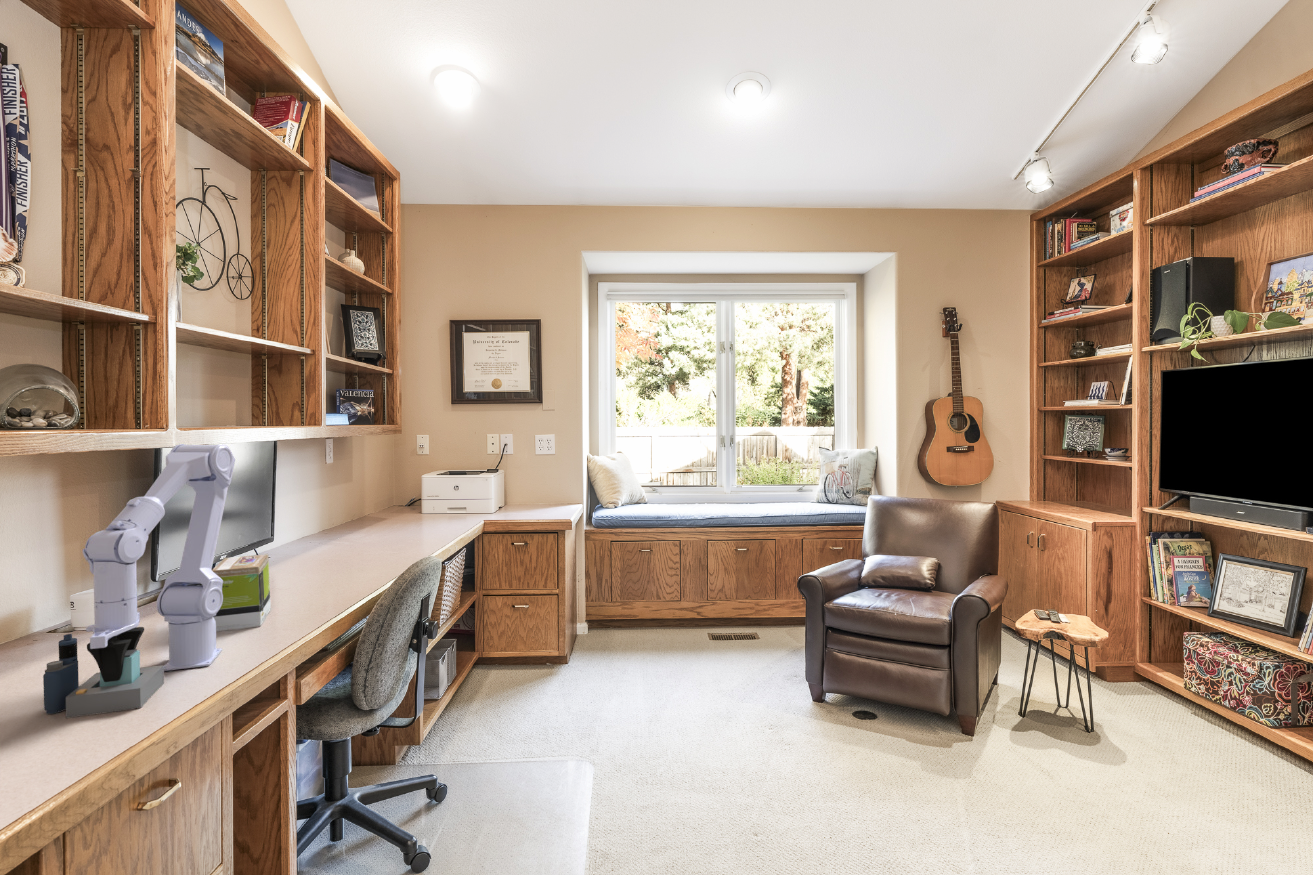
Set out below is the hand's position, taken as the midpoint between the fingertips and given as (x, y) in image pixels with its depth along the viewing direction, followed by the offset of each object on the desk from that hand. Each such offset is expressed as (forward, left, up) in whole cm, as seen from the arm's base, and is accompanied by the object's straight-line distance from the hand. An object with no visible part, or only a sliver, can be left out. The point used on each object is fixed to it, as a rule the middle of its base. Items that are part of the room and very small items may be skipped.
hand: (117, 676), depth 112 cm
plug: (0, 0, -2) cm, 2 cm away
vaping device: (0, -7, -4) cm, 9 cm away
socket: (0, 0, -4) cm, 4 cm away
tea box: (-44, +10, -4) cm, 45 cm away
